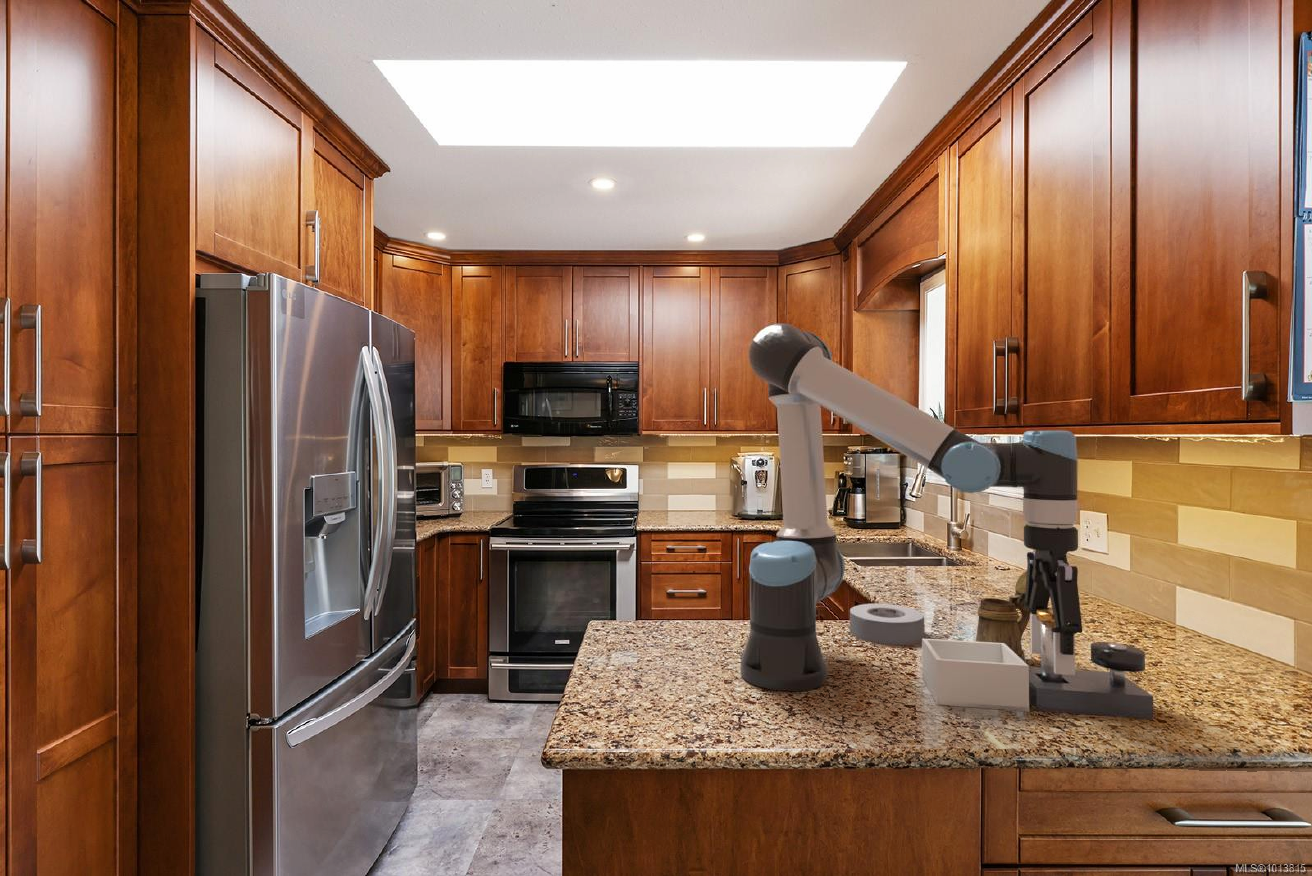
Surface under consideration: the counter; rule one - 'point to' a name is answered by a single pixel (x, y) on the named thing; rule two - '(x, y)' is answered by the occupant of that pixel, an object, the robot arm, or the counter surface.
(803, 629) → the robot arm
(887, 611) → the tape roll
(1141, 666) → the block
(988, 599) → the wooden mug
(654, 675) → the counter surface
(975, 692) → the parts bin
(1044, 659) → the pin
